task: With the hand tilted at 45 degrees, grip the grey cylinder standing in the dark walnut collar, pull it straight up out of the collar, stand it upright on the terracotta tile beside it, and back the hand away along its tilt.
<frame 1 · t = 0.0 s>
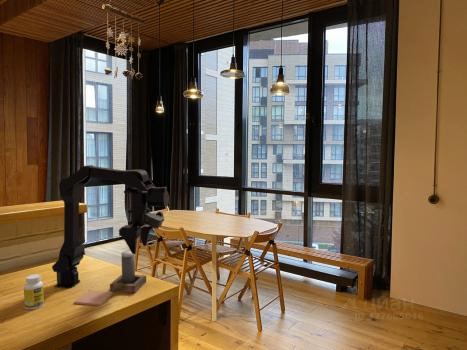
hand: (139, 249, 122), 15 cm above the kitchen counter, tool pointing down, fingers open, 9 cm apart
supplement bottle: (34, 306, 111), on the kitchen counter
grey cylinder: (128, 269, 126), in the walnut collar
walnut collar: (128, 286, 126), on the kitchen counter
terracotta tile: (94, 298, 116), on the kitchen counter
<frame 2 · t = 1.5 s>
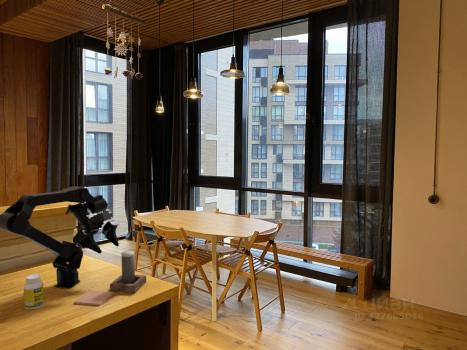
hand: (109, 249, 128), 13 cm above the kitchen counter, tool tilted 45°, fingers open, 9 cm apart
nothing on the kitchen counter moved.
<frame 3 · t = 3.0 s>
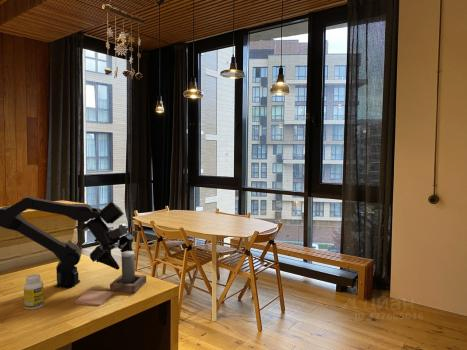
hand: (127, 264, 126), 8 cm above the kitchen counter, tool tilted 45°, fingers open, 9 cm apart
nothing on the kitchen counter moved.
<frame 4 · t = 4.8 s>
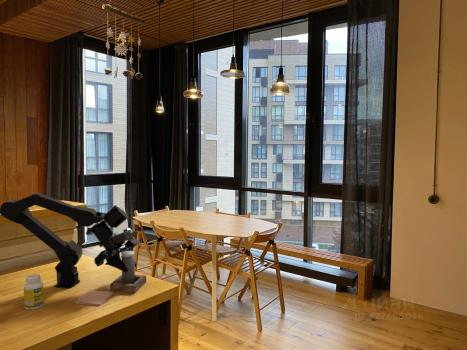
hand: (131, 269, 125), 7 cm above the kitchen counter, tool tilted 45°, fingers closed on grey cylinder, 4 cm apart
grey cylinder: (128, 269, 126), in the walnut collar, touching gripper
everything else where it was.
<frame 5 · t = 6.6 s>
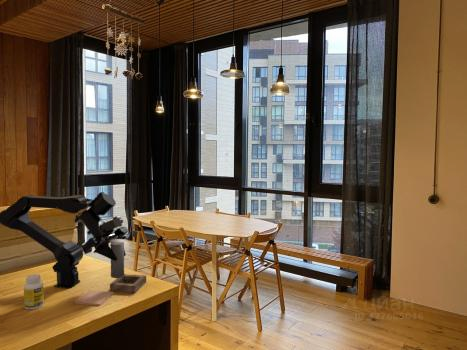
hand: (120, 257, 122), 12 cm above the kitchen counter, tool tilted 45°, fingers closed on grey cylinder, 4 cm apart
grey cylinder: (117, 258, 122), point 12 cm above the kitchen counter, touching gripper
everything else where it was.
when the fingers open (8 cm above the kitchen counter, at t = 8.5 s): grey cylinder stays where it is, resting on terracotta tile.
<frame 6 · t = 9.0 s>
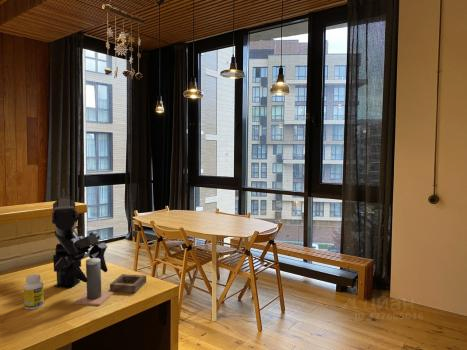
hand: (97, 276, 115), 8 cm above the kitchen counter, tool tilted 45°, fingers open, 9 cm apart
grey cylinder: (93, 278, 116), on the terracotta tile, point 7 cm above the kitchen counter
everything else where it was.
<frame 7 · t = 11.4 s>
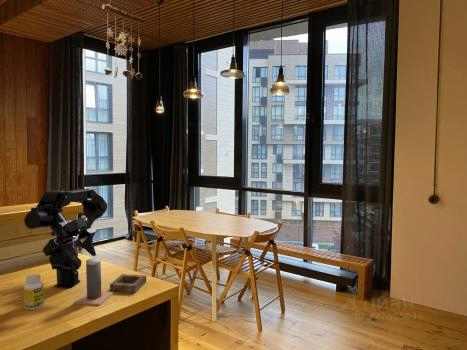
hand: (85, 259, 117), 13 cm above the kitchen counter, tool tilted 45°, fingers open, 9 cm apart
nothing on the kitchen counter moved.
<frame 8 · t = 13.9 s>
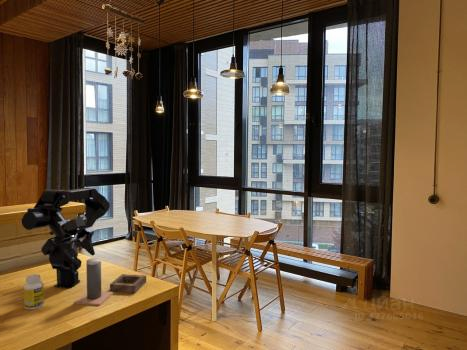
hand: (83, 258, 116), 13 cm above the kitchen counter, tool tilted 45°, fingers open, 9 cm apart
nothing on the kitchen counter moved.
at the end: grey cylinder inside the target area on the terracotta tile (0.1 cm from its centre), point 6.9 cm above the terracotta tile's base; grey cylinder tilted 1°; the gripper is holding nothing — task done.
